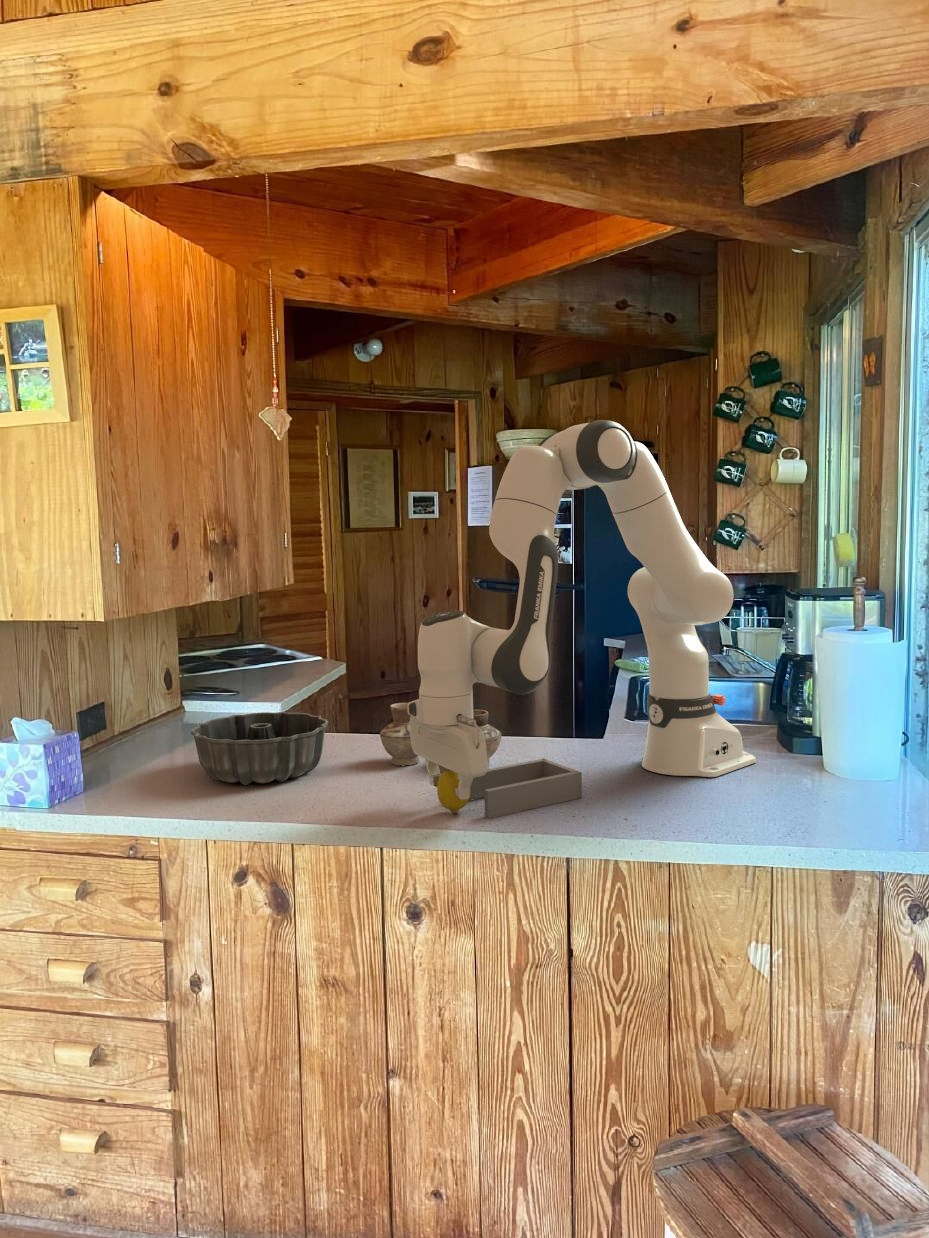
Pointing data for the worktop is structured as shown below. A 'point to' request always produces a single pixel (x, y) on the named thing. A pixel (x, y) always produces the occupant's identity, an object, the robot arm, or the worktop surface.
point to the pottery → (400, 741)
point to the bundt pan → (260, 746)
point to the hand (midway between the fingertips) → (449, 791)
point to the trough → (525, 786)
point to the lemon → (450, 791)
